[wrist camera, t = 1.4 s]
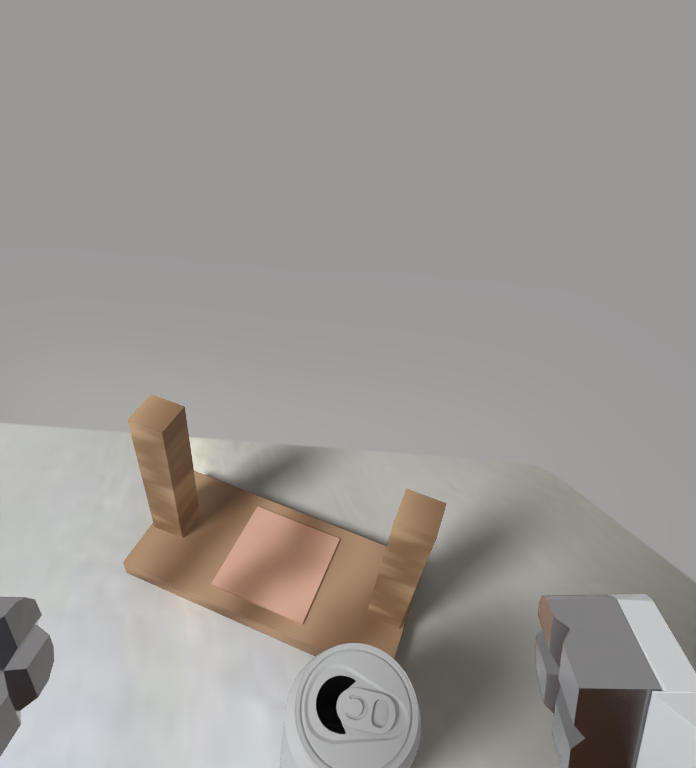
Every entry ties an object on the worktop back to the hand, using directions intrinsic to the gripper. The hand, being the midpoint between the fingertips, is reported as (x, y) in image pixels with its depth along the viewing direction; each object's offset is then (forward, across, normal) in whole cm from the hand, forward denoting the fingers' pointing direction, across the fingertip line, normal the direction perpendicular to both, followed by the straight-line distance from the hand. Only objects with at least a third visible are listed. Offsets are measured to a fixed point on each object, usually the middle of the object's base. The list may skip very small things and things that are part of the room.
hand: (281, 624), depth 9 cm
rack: (+26, +7, +22) cm, 34 cm away
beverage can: (+15, +3, +27) cm, 31 cm away
